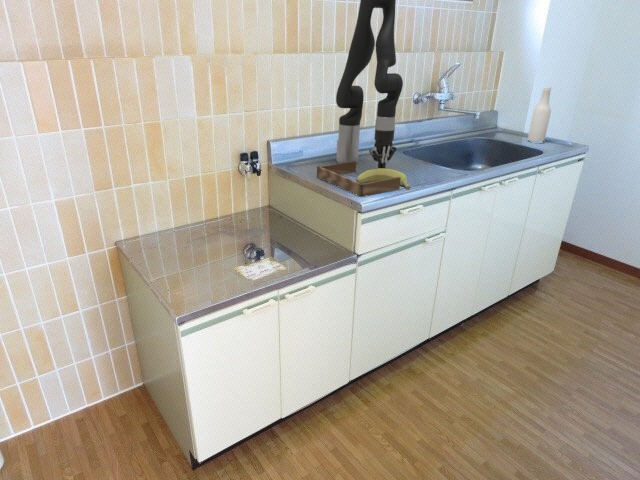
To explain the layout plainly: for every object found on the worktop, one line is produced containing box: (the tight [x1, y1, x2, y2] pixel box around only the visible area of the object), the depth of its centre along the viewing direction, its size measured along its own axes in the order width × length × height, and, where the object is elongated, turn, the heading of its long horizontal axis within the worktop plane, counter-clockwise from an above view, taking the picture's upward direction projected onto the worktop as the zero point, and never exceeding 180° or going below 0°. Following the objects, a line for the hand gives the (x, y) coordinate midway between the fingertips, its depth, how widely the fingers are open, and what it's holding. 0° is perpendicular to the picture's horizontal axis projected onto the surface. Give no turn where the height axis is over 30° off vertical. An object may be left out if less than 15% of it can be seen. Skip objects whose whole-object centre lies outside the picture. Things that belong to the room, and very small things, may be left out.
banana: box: [355, 167, 411, 190], centre depth 178 cm, size 14×6×20 cm
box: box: [316, 161, 401, 197], centre depth 178 cm, size 28×19×4 cm
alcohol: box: [527, 86, 552, 141], centre depth 255 cm, size 9×9×30 cm
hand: (381, 171), depth 184 cm, fingers closed
